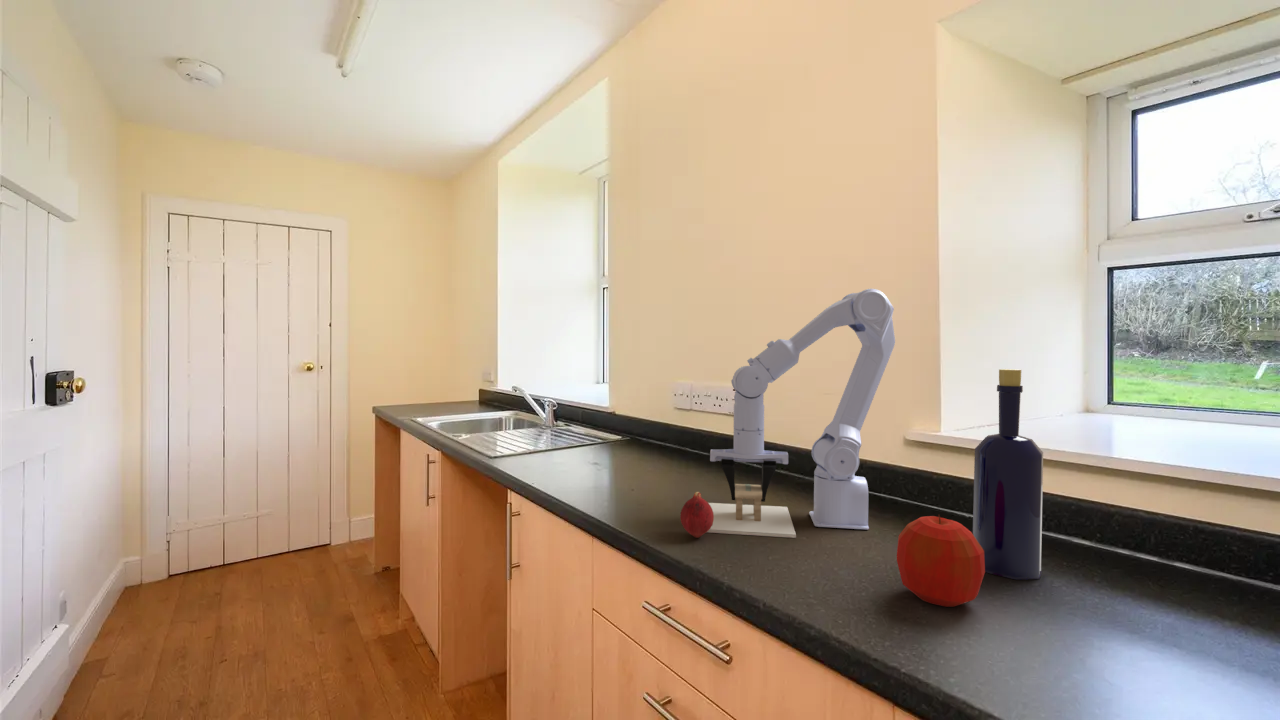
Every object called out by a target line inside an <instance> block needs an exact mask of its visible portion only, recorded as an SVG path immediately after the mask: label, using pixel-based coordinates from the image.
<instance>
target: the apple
mask: <svg viewBox="0 0 1280 720" xmlns="http://www.w3.org/2000/svg"><path fill="white" fill-rule="evenodd" d="M897 539H898V541H897V547H896V548H897V549H896V562H897V567H898V571H899V575H900V580H901V583H902V585H903V586H904V587H905V588H907V589H908V590H909V591H910V592H911V593H912V594H914V595H915V596H917V597H918V598H919V599H920V600H922V601H923V602H926V603H928V604H932V605H936V606H940V607H941V606H942V607H946V608H947V607H948V608H949V607H951V608H954V607H957V606H960V605H963V604H966V603H968V602H971V601H974V600H975V599H976V598H977V596H978V594H979V592H980V589H981V587H982V586H981V585H982V582H983V579H984V577H985V573H986V572H985V561H984V550H983V549H982V547H981V546H980V544H979V543H978V541H977V540H976V538H975V537H974V535H973V531H970V530H969V528H967V527H966V526H964V525H963V524H962V523H960V522H958V521H956V520H953V519H947V518H944V517H941V516H940V514H938V516H935V515H927V516H920V517H919V518H917V519H914V520H913V521H910V522H908V523H907V524H906V526H904V528H903V529H902V530H901V532H900V533H899V535H898V538H897Z"/></svg>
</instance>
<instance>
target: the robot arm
mask: <svg viewBox="0 0 1280 720" xmlns="http://www.w3.org/2000/svg"><path fill="white" fill-rule="evenodd" d="M894 308H895V307H894V306H893V304H892V302H891V301H890V300H889V298H888V297H887V295H886V294H885V293H884V292H882V290H879V289H876V288H868V289H864V290H862V291H859V292H852V293H849V294H846V295H844V297H842V299H841V300H838V301H835V302H834V303H832V304H831V305H829V306H828V307H825V309H824V310H823V311H822V312H820V313H819V314H818V315H817V316H816V317H814V318H812V320H811V321H809V322H808V323H807V324H806V325H805V326H804V327H802V328H801V329H799V330H798V332H796V333H795V334H794V335H793V336H792V337H790V338H789V339H781V338H780V339H779V338H778V339H777V340H775V341H774V340H770V341H769V342H767V344H766V347H767V348H766V349H764V350H762V352H760V353H759V354H757V355H756V356H755V357H754V358H752V357H750V358H748V359H747V360H746V361H747V363H748V365H743V366H741V367H739V368H738V369H737V370H736V371H734V373H733V376H732V379H731V380H730V381H731V385H732V388H733V389H734V390H735V391H734V398H733V400H734V403H733V448H728V449H725V448H724V449H722V448H721V449H714V448H713V449H710V452H709V454H710V455H709V461H710V462H718V461H719V462H721V464H720V465H721V469H722V471H723V473H724V475H725V477H726V479H727V480H726V481H727V484H728V486H729V491H730V495H731V496H730V497H731V501H736V498H735V484H736V483H735V481H736V480H735V466H736V465H735V464H736V463H735V462H737V463H738V462H740V463H741V462H745V463H761V484H760V485H761V488H762V499H761V503H764V502H766V496H767V493H768V489H769V487H770V486H769V485H770V482H771V481H772V478H773V476H774V474H775V473H776V470H777V464H782V465H788V464H789V453H788V451H778V450H776V451H775V450H765V404H764V394H765V392H766V391H767V389H768V387H769V383H770V384H772V383H774V382H775V381H776V380H778V379H779V378H780V377H781V376H783V375H784V374H786V372H788V371H789V370H791V369H792V368H793V367H794V366H796V365H797V364H798V363H799V358H800V354H801V352H803V351H804V350H806V349H807V348H809V347H810V346H811V345H812V344H814V343H816V342H817V341H819V340H820V339H821V338H823V337H824V336H825V335H826V334H828V333H829V332H831V331H832V330H833V329H836V328H840V327H845V326H848V327H849V328H850V329H852V330H853V332H854V333H855V335H856V336H857V338H858V339H859V341H860V343H861V348H860V350H859V354H858V356H857V358H856V360H855V363H854V366H853V368H852V369H851V370H852V371H851V373H850V376H849V377H848V378H849V379H848V380H847V382H846V385H845V388H844V391H843V394H842V396H841V398H840V401H839V403H838V406H837V408H836V411H835V413H834V416H833V418H832V420H831V422H830V423H829V424H828V425H827V426H826V427H825V428H824V429H823V432H822V434H821V436H820V437H819V438H817V439H816V440H815V441H814V443H813V444H812V447H811V457H812V459H813V461H814V462H815V464H816V468H815V469H814V471H813V475H814V476H813V479H814V480H813V483H814V484H813V510H811V511H808V512H809V513H808V514H809V516H810V518H811V521H812V522H813V523H812V524H813V526H814V527H818V528H835V529H836V528H837V529H851V530H853V529H854V530H869V529H870V527H869V487H868V486H869V485H868V481H867V479H866V477H864V476H859V475H858V476H857V475H855V474H856V473H857V471H858V469H859V466H860V455H859V454H860V450H861V447H862V438H861V430H862V427H863V425H864V423H865V420H866V418H867V415H868V413H869V410H870V409H871V408H870V407H871V405H872V403H873V400H874V398H875V395H876V393H877V390H878V387H879V385H880V383H881V381H882V378H883V376H884V373H885V370H886V367H887V365H888V363H889V360H890V358H891V356H892V353H893V350H894V348H895V346H896V345H895V344H896V335H895V330H894V321H893V314H894V311H895V309H894Z"/></svg>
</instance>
